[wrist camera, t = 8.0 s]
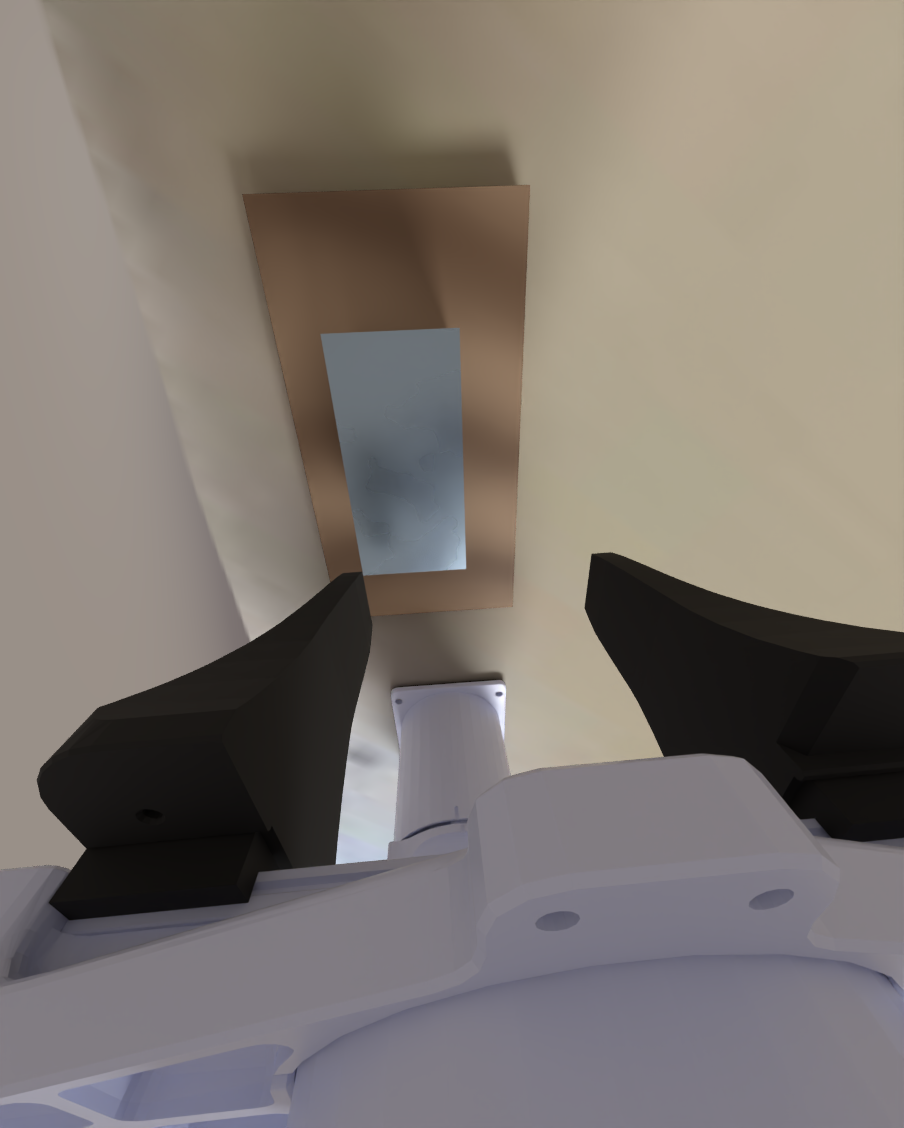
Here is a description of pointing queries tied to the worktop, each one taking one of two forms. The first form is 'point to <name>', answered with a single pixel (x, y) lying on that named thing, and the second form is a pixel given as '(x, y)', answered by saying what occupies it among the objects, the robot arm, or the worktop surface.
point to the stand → (406, 302)
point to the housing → (401, 445)
